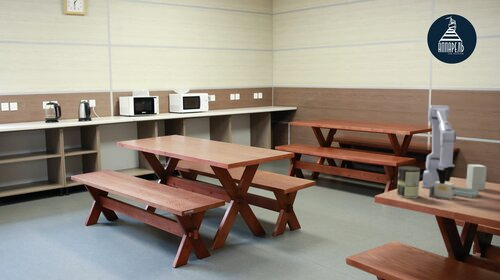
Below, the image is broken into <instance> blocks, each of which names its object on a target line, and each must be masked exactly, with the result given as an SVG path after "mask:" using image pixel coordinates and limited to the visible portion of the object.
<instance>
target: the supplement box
mask: <svg viewBox="0 0 500 280" xmlns="http://www.w3.org/2000/svg"><path fill="white" fill-rule="evenodd" d="M487 168H488V167H487V166H485V165H482V164H471V163H470V164H467V170H466V183H465V187H466V189H473V190H479V191H485V190H486V184H487V183H486V182H487V181H486V180H487V170H488V169H487Z"/></svg>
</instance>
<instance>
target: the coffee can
mask: <svg viewBox="0 0 500 280" xmlns="http://www.w3.org/2000/svg"><path fill="white" fill-rule="evenodd" d="M397 169H398V174H397V189H396V195H397V196H398V197H400V198H404V199H416V198H419V188H420V173H421V167H418V166H417V167H416V166H413V165H412V166H410V165H403V166H402V165H401V166H398V168H397Z"/></svg>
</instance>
